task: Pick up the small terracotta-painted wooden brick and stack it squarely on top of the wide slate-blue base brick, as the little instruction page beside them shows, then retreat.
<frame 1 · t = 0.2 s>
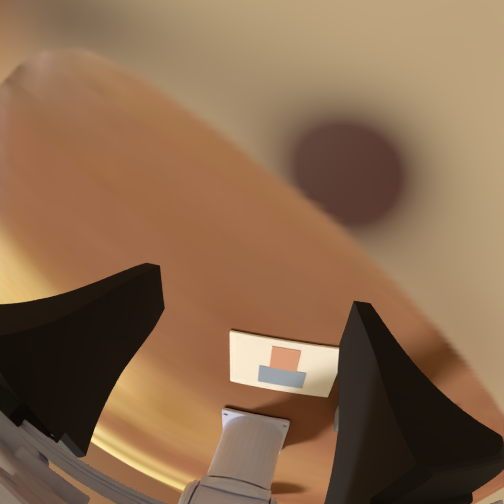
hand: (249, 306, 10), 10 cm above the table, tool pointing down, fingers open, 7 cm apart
instruction page: (283, 367, 25), on the table
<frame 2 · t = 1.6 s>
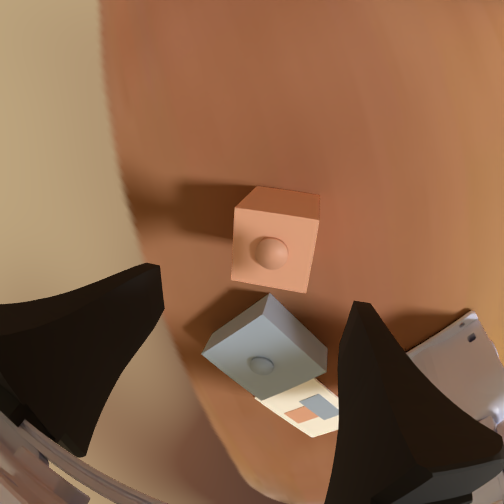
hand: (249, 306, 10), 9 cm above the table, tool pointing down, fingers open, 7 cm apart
base brick: (269, 339, 23), on the table
top brick: (284, 219, 19), on the table
instruction page: (311, 409, 26), on the table
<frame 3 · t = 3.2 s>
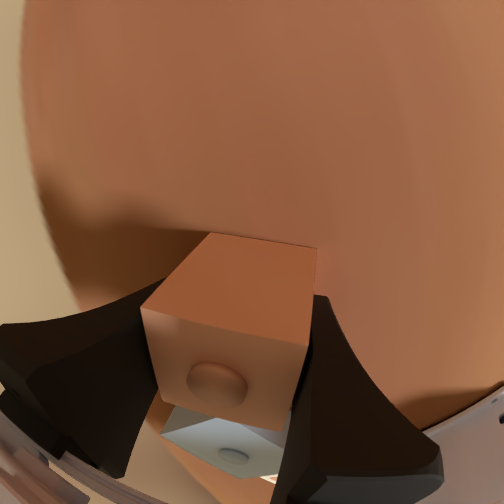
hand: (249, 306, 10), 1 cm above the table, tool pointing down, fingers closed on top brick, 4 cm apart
base brick: (246, 417, 16), on the table
top brick: (258, 286, 11), on the table, touching gripper
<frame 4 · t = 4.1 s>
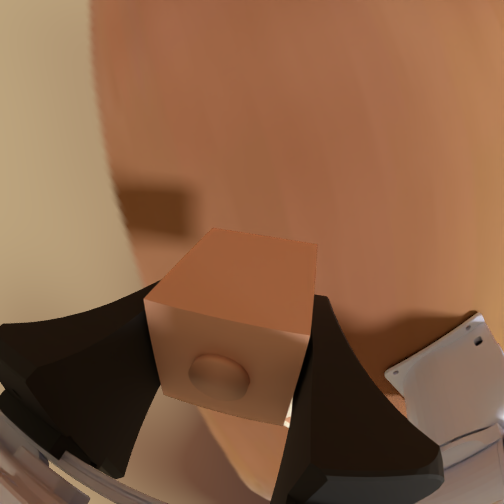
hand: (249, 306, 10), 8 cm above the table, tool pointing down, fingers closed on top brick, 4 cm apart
top brick: (259, 281, 12), point 7 cm above the table, touching gripper
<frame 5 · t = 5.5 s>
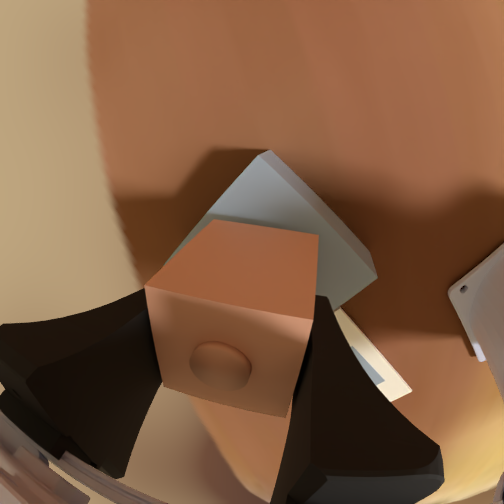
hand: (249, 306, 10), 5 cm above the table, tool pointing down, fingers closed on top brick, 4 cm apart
base brick: (274, 244, 15), on the table
top brick: (260, 273, 12), point 3 cm above the table, touching gripper
instruction page: (338, 377, 18), on the table
when the fingers open (5 cm above the table, at t = 5.8 s): top brick stays where it is, point 3 cm above the table.
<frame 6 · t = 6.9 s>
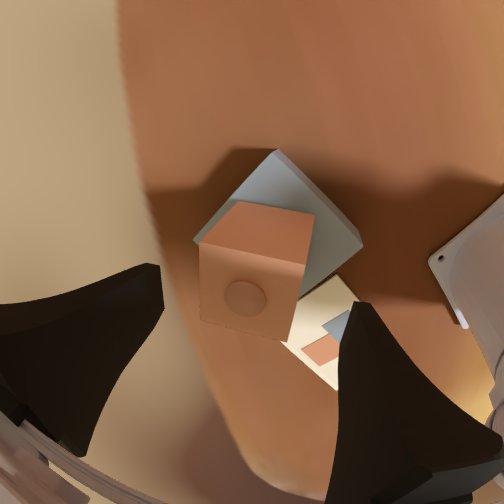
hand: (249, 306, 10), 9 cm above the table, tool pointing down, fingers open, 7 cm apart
base brick: (281, 225, 19), on the table
top brick: (271, 242, 16), point 3 cm above the table
instruction page: (337, 341, 21), on the table
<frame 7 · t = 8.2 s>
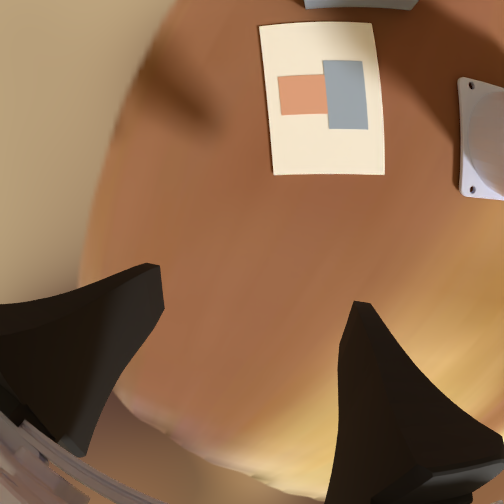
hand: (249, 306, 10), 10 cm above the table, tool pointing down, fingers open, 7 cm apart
instruction page: (324, 94, 15), on the table
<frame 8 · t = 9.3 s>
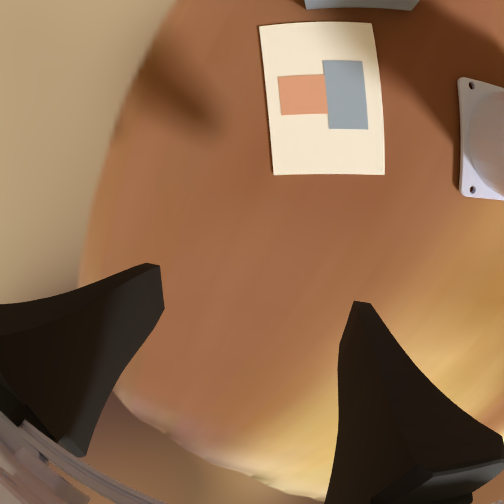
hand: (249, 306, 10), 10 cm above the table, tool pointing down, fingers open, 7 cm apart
instruction page: (324, 94, 15), on the table
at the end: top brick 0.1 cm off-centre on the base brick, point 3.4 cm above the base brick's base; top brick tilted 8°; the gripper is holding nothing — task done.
